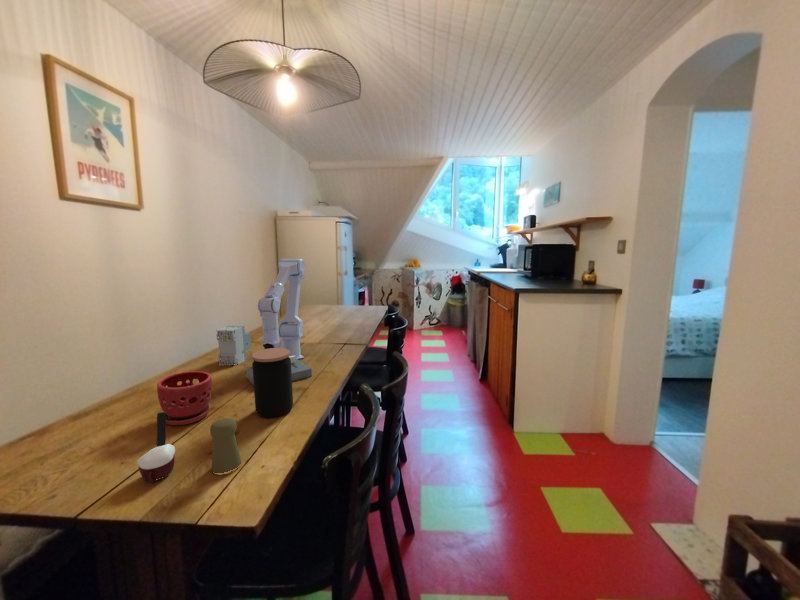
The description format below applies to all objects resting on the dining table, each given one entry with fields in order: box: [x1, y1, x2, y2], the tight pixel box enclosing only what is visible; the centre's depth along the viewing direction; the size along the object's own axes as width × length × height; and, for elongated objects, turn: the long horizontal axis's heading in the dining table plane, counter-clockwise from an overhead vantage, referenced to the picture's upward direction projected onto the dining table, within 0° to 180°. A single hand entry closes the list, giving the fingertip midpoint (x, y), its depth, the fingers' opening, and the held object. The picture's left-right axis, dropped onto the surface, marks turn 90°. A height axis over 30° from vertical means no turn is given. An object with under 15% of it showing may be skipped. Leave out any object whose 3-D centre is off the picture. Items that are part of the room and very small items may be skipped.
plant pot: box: [156, 370, 213, 426], centre depth 96 cm, size 13×13×12 cm
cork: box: [209, 417, 242, 473], centre depth 75 cm, size 6×6×11 cm
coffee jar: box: [251, 347, 294, 419], centre depth 100 cm, size 11×11×18 cm
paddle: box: [289, 356, 296, 363], centre depth 133 cm, size 2×3×2 cm, turn 128°
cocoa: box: [137, 411, 176, 483], centre depth 72 cm, size 10×6×12 cm, turn 174°
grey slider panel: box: [245, 359, 313, 387], centre depth 127 cm, size 14×20×3 cm
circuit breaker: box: [215, 325, 252, 366], centre depth 146 cm, size 8×14×15 cm, turn 174°
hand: (272, 361), depth 133 cm, fingers closed
